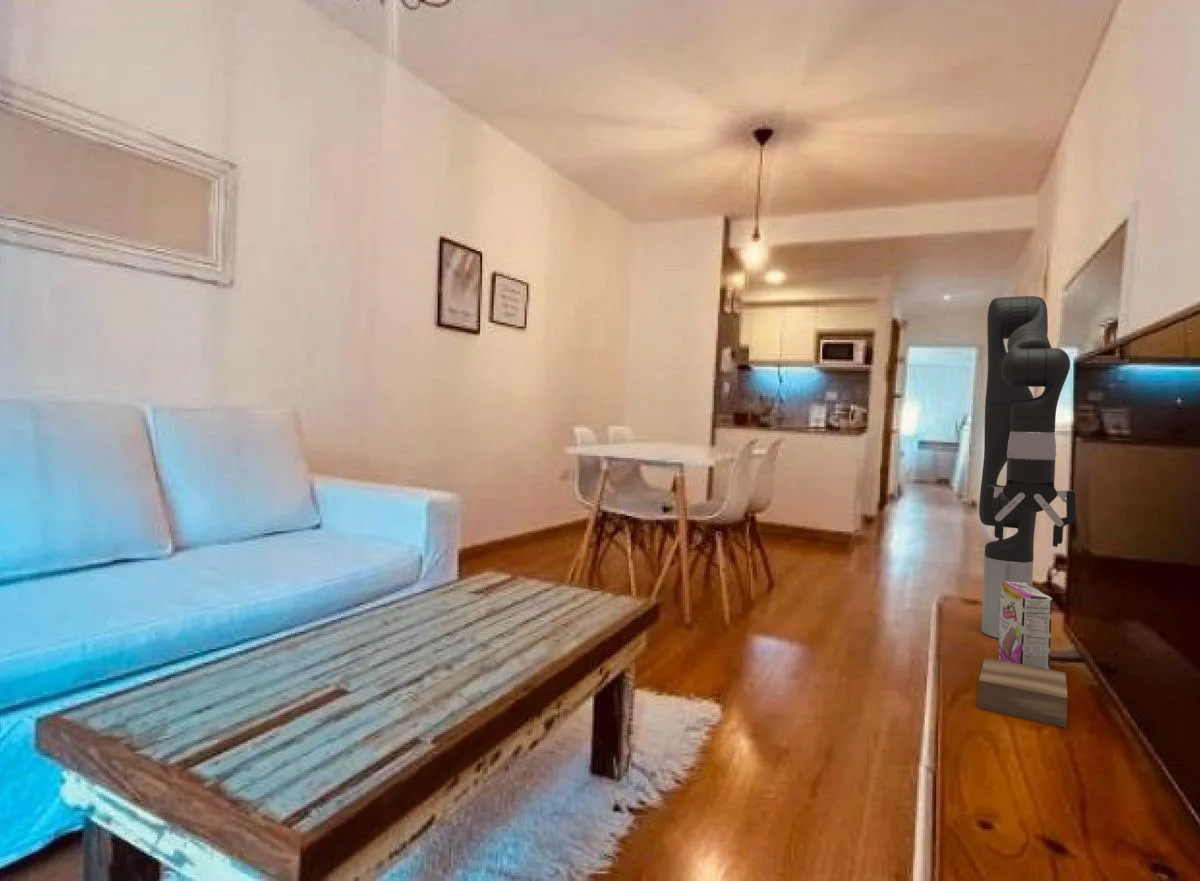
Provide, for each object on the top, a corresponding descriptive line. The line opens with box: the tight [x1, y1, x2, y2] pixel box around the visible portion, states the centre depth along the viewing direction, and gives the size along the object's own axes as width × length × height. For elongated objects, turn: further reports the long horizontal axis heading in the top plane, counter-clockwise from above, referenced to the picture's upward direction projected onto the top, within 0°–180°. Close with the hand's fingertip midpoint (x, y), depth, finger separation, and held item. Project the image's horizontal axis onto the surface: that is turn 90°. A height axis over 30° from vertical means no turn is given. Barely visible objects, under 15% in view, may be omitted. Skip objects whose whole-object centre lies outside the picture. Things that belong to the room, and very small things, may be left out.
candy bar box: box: [997, 581, 1053, 669], centre depth 125 cm, size 11×5×16 cm, turn 168°
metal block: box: [977, 657, 1069, 728], centre depth 112 cm, size 13×12×5 cm
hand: (1027, 543), depth 124 cm, fingers open, 8 cm apart
